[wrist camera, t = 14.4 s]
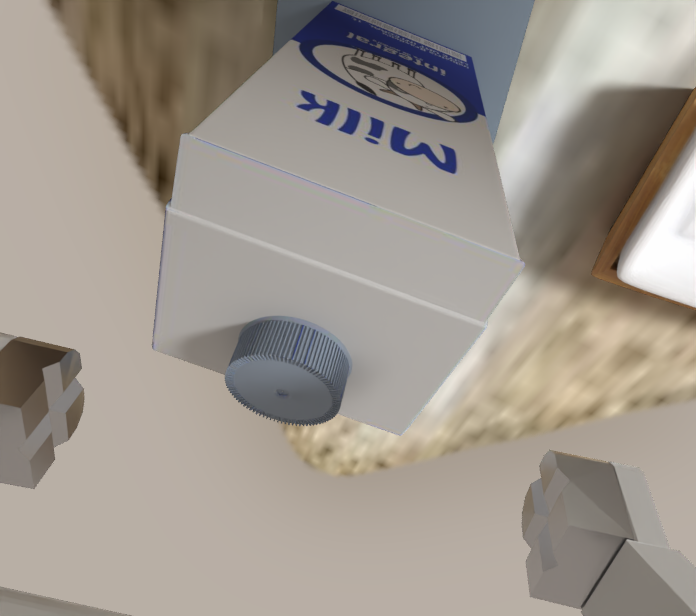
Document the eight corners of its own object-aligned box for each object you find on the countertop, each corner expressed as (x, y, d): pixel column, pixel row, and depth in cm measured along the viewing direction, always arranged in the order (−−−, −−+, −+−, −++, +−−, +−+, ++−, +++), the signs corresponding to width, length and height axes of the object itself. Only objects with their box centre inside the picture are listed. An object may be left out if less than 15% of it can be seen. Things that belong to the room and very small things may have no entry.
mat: (535, -8, 28) (536, -7, 27) (469, 221, 34) (469, 225, 33) (284, -56, 28) (282, -56, 28) (263, 181, 34) (260, 184, 33)
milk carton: (476, 58, 29) (533, 270, 12) (418, 190, 33) (399, 494, 16) (328, -2, 28) (171, 134, 12) (285, 139, 32) (118, 398, 15)
